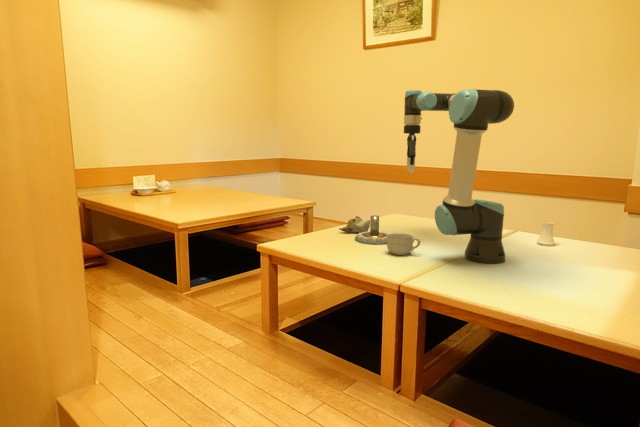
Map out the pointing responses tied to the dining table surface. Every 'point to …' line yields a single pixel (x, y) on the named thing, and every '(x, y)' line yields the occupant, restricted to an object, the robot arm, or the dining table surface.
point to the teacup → (401, 243)
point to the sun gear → (374, 228)
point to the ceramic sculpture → (356, 225)
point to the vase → (546, 235)
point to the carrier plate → (371, 239)
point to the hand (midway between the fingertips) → (410, 171)
